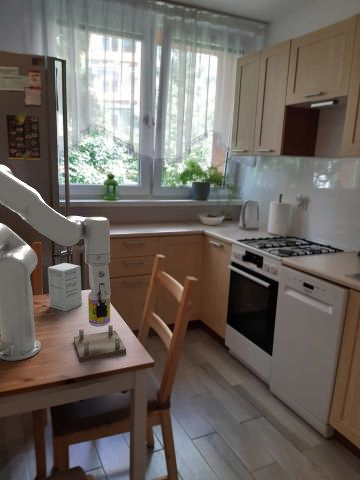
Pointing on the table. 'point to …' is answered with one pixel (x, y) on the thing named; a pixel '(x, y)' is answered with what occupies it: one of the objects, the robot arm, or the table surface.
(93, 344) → the board
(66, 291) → the supplement box
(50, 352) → the table surface
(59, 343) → the table surface
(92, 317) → the supplement bottle
